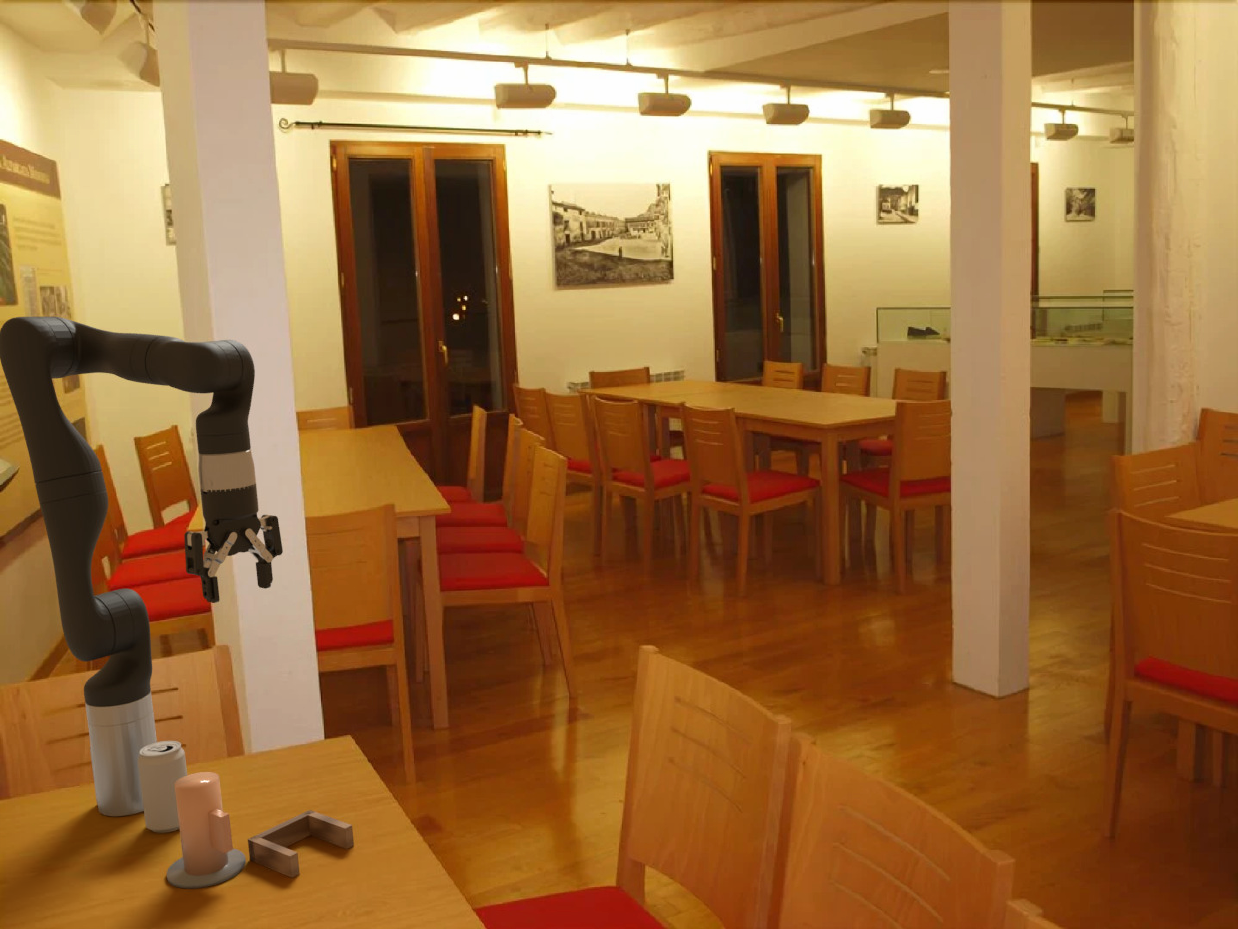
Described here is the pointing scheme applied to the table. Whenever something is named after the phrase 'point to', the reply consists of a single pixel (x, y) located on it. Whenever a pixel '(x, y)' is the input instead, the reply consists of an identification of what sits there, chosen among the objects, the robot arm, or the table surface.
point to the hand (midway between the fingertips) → (239, 594)
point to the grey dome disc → (184, 880)
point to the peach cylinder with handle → (202, 823)
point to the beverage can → (161, 783)
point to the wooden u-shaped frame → (274, 840)
